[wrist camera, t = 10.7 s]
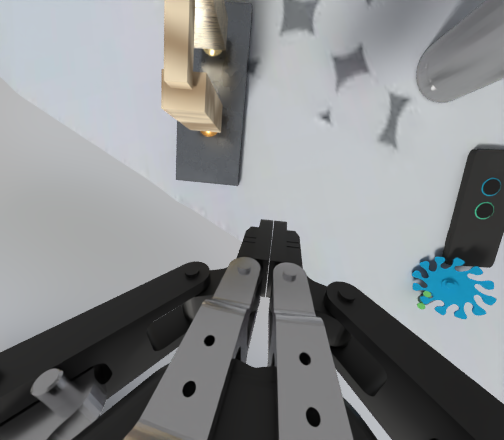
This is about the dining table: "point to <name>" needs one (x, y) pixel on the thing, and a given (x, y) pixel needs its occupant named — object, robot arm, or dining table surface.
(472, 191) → the smart home device
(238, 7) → the bolt plate
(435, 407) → the robot arm
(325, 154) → the dining table surface
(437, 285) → the blue knobbed spoke wheel
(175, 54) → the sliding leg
